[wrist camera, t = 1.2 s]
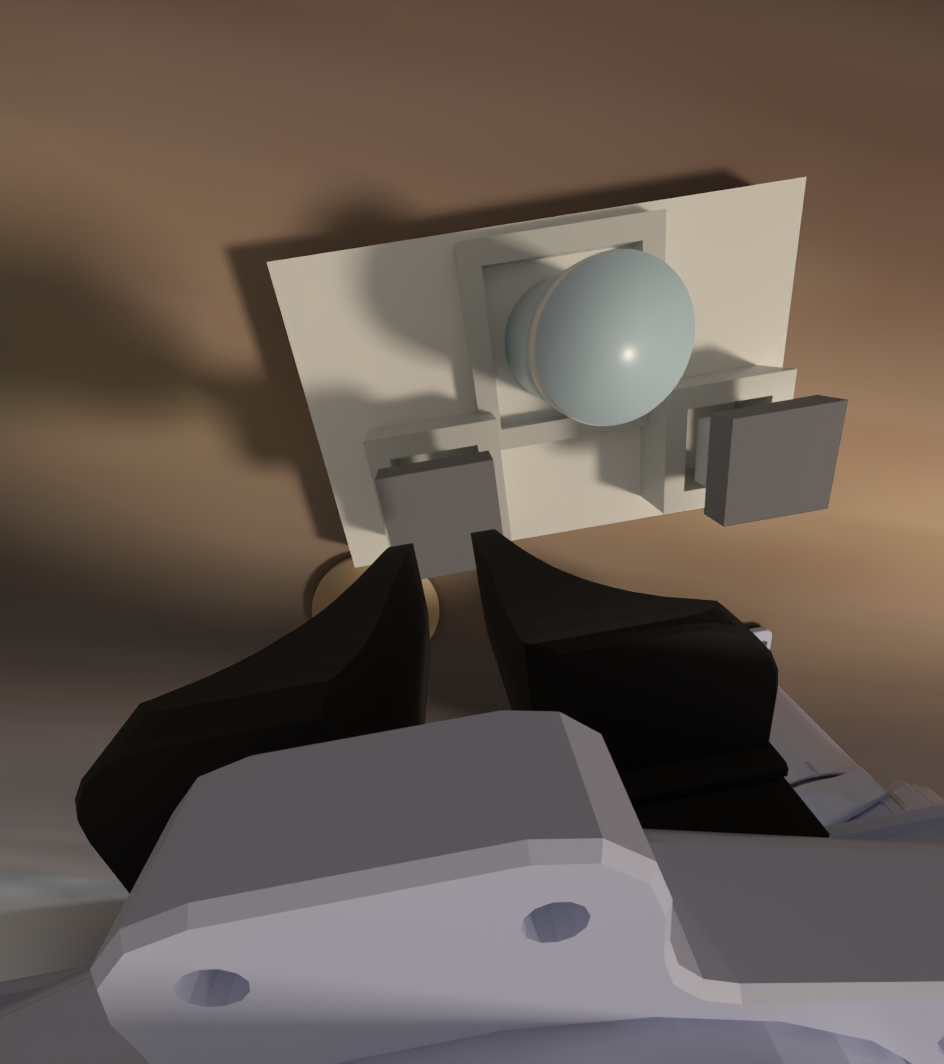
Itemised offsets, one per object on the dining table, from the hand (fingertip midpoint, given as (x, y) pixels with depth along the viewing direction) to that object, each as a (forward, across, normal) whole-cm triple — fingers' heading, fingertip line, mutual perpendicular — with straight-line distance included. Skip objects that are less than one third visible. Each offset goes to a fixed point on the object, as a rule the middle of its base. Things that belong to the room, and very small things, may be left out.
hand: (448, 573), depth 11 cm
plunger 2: (+6, -11, 0) cm, 13 cm away
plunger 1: (+6, 0, 0) cm, 6 cm away
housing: (+10, -5, -2) cm, 12 cm away
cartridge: (+8, -6, -4) cm, 11 cm away
